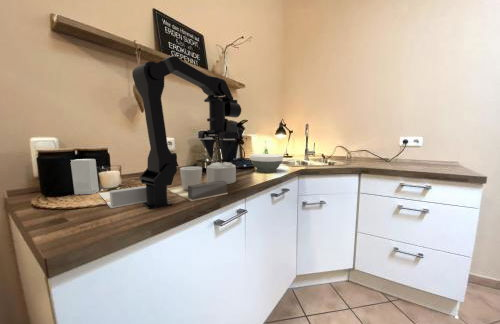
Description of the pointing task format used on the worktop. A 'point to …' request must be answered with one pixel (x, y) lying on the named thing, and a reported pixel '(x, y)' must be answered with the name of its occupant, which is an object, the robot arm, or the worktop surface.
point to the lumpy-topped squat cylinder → (221, 172)
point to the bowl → (266, 162)
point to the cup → (190, 176)
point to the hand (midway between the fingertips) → (217, 158)
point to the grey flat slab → (125, 196)
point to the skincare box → (84, 176)
